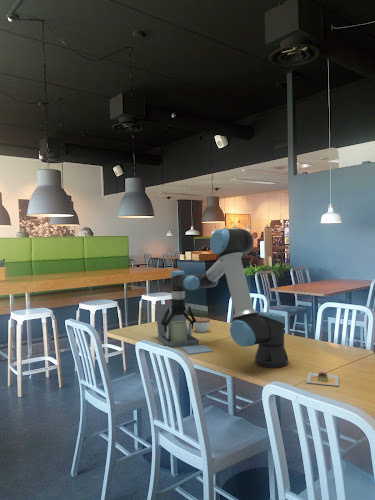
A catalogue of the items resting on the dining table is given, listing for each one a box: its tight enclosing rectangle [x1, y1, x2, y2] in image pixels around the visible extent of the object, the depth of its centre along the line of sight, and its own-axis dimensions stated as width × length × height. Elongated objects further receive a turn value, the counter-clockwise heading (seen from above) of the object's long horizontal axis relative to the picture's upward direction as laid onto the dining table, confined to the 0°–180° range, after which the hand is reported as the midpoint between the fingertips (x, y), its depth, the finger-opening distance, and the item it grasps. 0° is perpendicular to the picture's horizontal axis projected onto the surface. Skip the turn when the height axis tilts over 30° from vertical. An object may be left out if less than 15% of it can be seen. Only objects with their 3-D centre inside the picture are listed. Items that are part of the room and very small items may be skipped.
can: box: [170, 321, 188, 343], centre depth 223 cm, size 9×9×12 cm
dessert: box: [305, 369, 340, 387], centre depth 161 cm, size 12×12×5 cm
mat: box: [180, 344, 214, 355], centre depth 208 cm, size 13×13×1 cm
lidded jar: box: [193, 316, 211, 333], centre depth 250 cm, size 11×11×9 cm
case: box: [155, 303, 200, 349], centre depth 226 cm, size 23×18×20 cm
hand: (178, 336), depth 223 cm, fingers open, 13 cm apart
